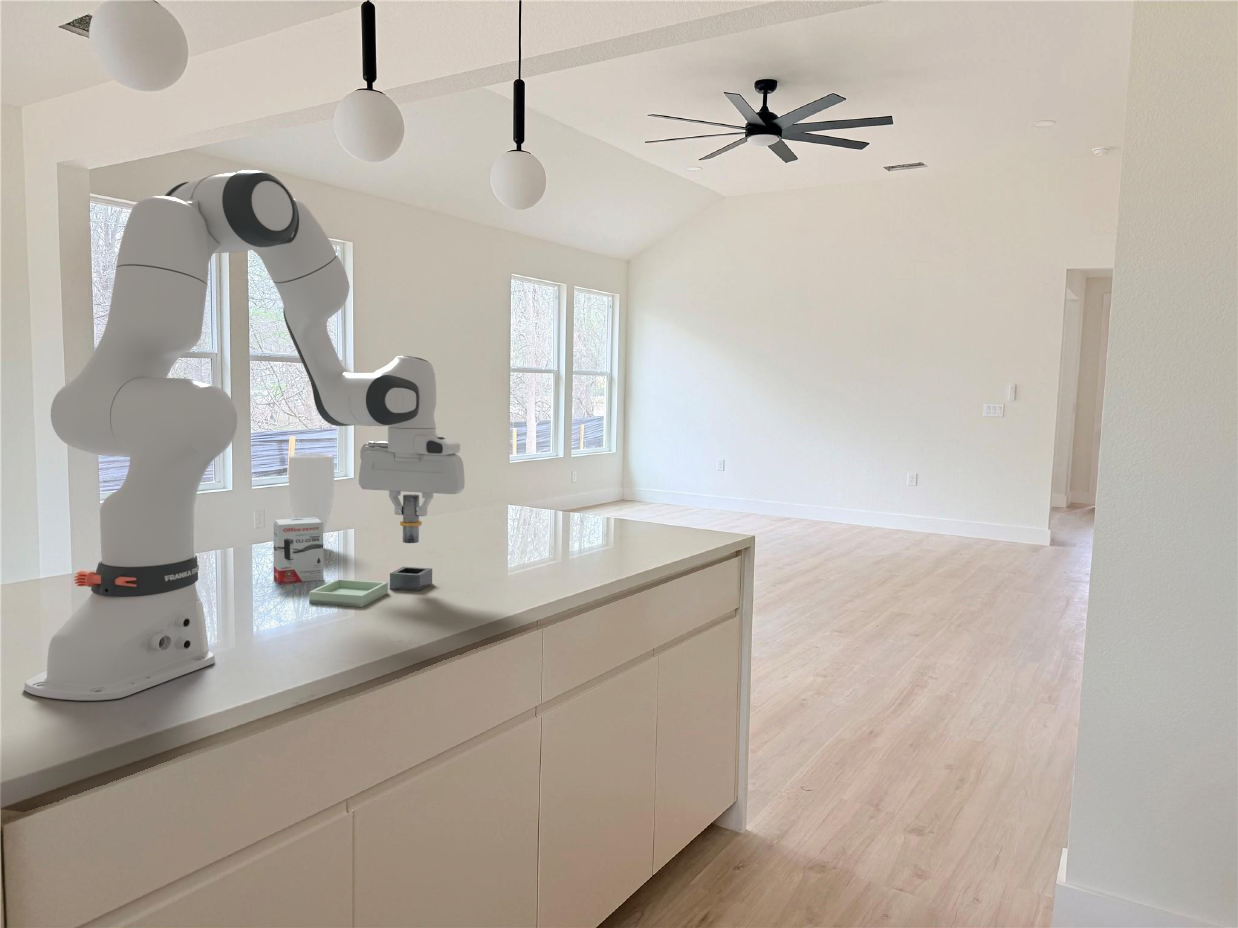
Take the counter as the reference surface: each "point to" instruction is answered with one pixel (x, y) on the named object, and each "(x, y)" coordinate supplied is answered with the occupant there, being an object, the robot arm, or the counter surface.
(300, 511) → the cup
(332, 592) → the tray
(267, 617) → the counter surface
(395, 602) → the counter surface
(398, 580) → the socket block
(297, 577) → the ink box
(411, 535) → the pin
